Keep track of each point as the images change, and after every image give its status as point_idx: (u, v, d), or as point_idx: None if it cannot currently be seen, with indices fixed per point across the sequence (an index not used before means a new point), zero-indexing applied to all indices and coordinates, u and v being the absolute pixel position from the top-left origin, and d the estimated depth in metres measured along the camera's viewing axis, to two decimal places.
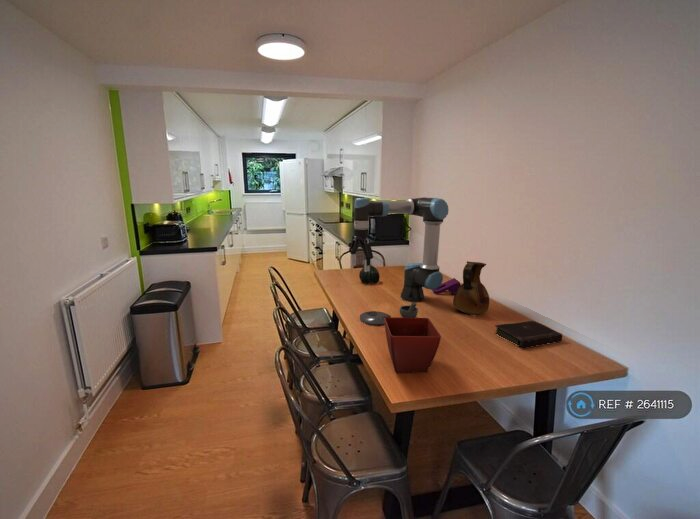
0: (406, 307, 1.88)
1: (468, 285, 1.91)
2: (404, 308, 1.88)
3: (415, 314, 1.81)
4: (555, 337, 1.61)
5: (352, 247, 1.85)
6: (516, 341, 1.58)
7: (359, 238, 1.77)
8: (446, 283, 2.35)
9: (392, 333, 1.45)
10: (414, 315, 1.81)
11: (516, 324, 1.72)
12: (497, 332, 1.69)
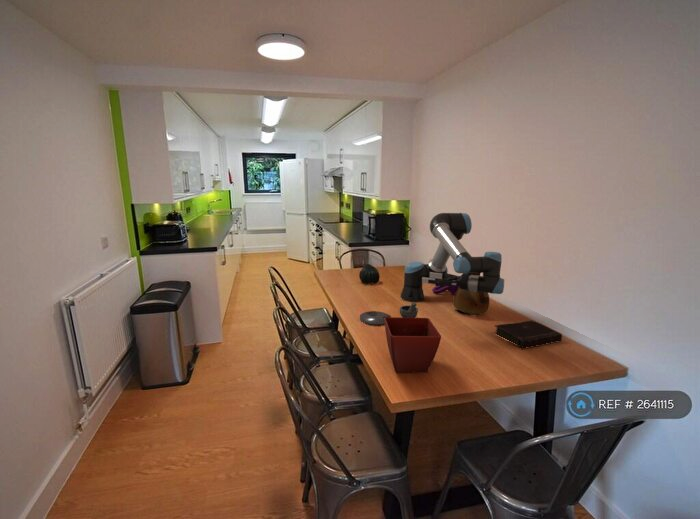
0: (406, 307, 1.88)
1: None
2: (404, 308, 1.88)
3: (415, 314, 1.81)
4: (555, 337, 1.62)
5: None
6: (517, 341, 1.58)
7: None
8: None
9: (392, 333, 1.45)
10: (414, 315, 1.81)
11: (516, 324, 1.72)
12: (497, 332, 1.69)
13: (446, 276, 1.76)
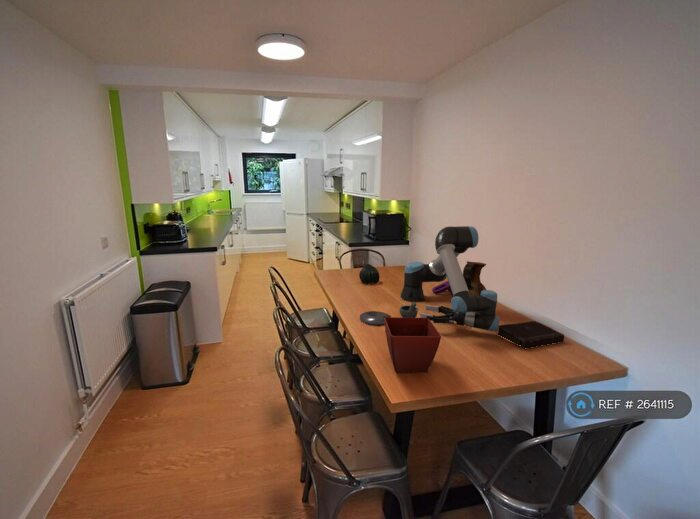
0: (406, 307, 1.88)
1: (468, 285, 1.91)
2: (404, 308, 1.88)
3: (415, 314, 1.81)
4: (557, 338, 1.61)
5: None
6: (518, 342, 1.58)
7: None
8: (446, 283, 2.35)
9: (392, 333, 1.45)
10: (414, 315, 1.81)
11: (518, 324, 1.72)
12: (499, 332, 1.69)
13: (442, 310, 1.81)
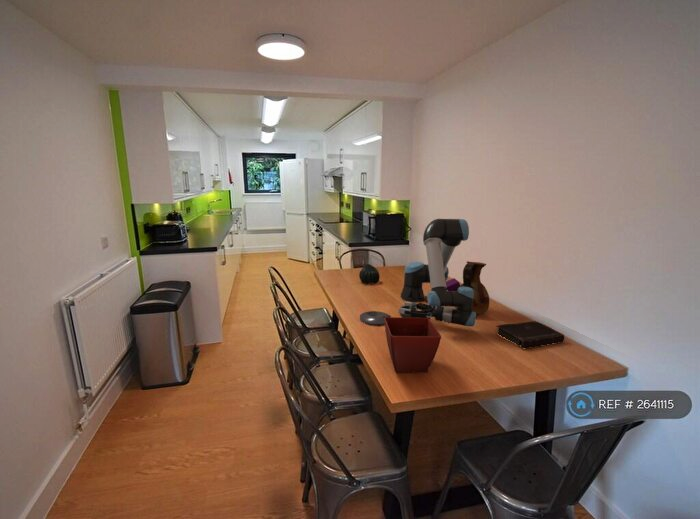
0: (405, 307, 1.88)
1: (468, 285, 1.91)
2: None
3: None
4: (557, 338, 1.61)
5: None
6: (517, 341, 1.58)
7: None
8: (446, 283, 2.35)
9: (392, 333, 1.45)
10: None
11: (518, 324, 1.72)
12: (499, 332, 1.69)
13: (420, 306, 1.85)
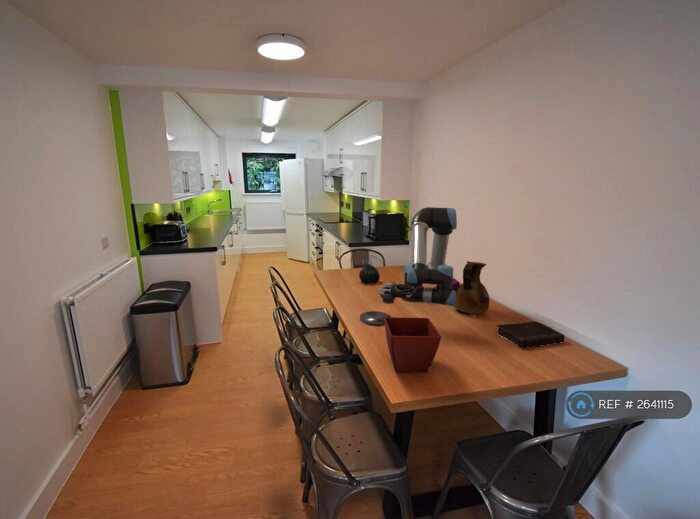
0: (386, 288, 1.84)
1: (468, 285, 1.91)
2: None
3: None
4: (557, 338, 1.60)
5: None
6: (517, 341, 1.58)
7: None
8: None
9: (392, 333, 1.45)
10: None
11: (518, 324, 1.72)
12: (498, 332, 1.70)
13: (401, 287, 1.82)
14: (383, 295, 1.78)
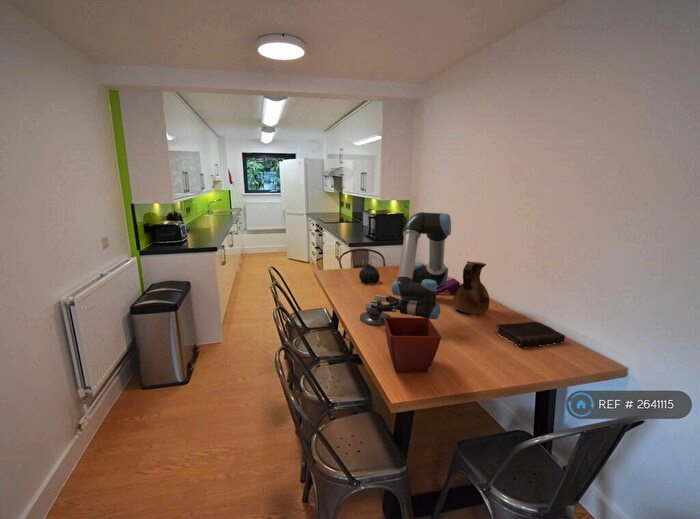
0: None
1: (468, 285, 1.91)
2: None
3: None
4: (557, 338, 1.60)
5: None
6: (516, 341, 1.59)
7: None
8: None
9: (392, 333, 1.45)
10: None
11: (518, 324, 1.72)
12: (498, 332, 1.70)
13: (389, 299, 1.86)
14: (369, 310, 1.81)
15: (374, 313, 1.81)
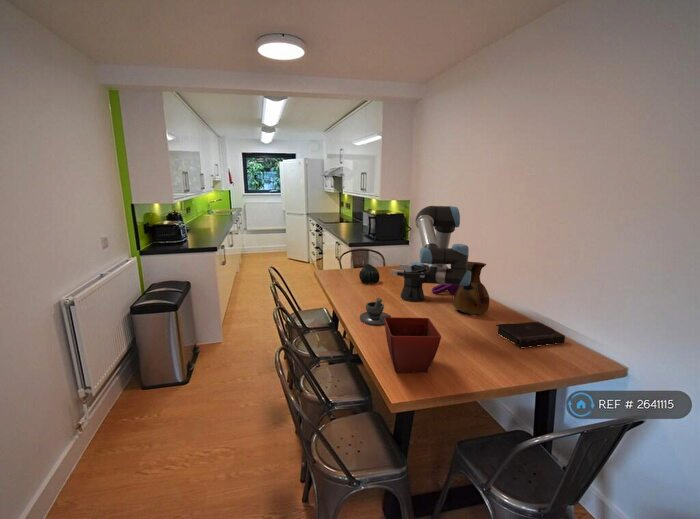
0: (372, 303, 1.88)
1: (468, 285, 1.91)
2: (370, 304, 1.88)
3: (381, 310, 1.81)
4: (557, 338, 1.60)
5: None
6: (515, 340, 1.59)
7: None
8: (445, 283, 2.35)
9: (392, 333, 1.45)
10: (380, 311, 1.81)
11: (519, 324, 1.72)
12: (498, 331, 1.70)
13: (415, 268, 1.76)
14: (369, 310, 1.81)
15: (374, 313, 1.81)
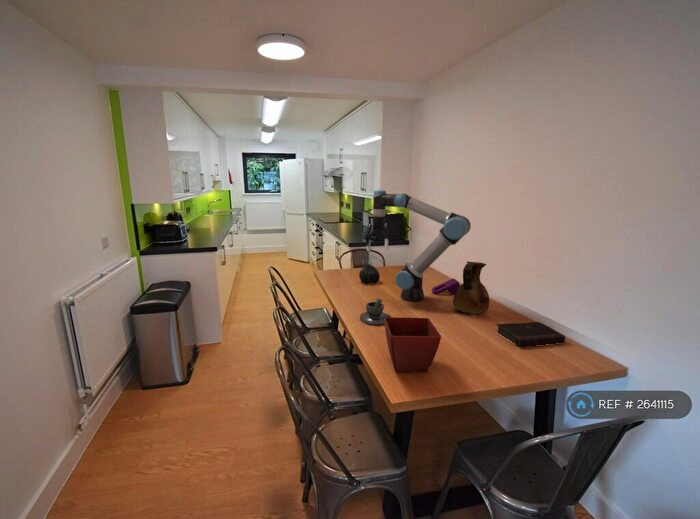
0: (372, 303, 1.88)
1: (468, 285, 1.91)
2: (370, 304, 1.88)
3: (381, 310, 1.81)
4: (557, 338, 1.60)
5: (387, 233, 2.15)
6: (515, 340, 1.59)
7: None
8: (445, 283, 2.34)
9: (392, 333, 1.45)
10: (380, 311, 1.81)
11: (519, 324, 1.72)
12: (498, 331, 1.71)
13: None
14: (369, 310, 1.81)
15: (374, 313, 1.81)
